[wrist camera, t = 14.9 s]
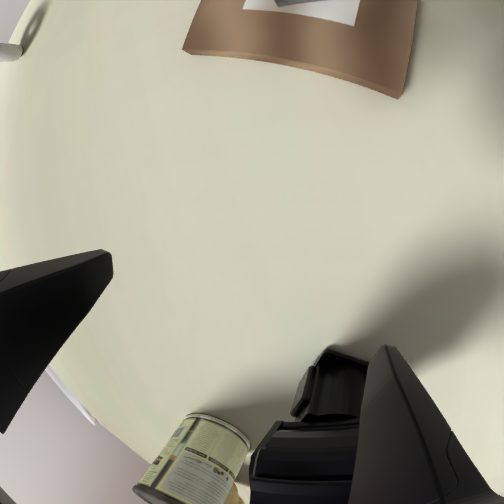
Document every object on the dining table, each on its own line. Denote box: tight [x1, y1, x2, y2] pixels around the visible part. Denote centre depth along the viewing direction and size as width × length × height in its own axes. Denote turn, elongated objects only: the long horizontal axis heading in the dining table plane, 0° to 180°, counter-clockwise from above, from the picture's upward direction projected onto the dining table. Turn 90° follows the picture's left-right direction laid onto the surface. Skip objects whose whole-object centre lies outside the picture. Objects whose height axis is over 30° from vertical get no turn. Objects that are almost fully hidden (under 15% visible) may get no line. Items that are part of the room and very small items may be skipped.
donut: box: [0, 43, 23, 61], centre depth 19 cm, size 10×4×10 cm, turn 61°
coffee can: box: [132, 414, 250, 504], centre depth 25 cm, size 10×10×14 cm
